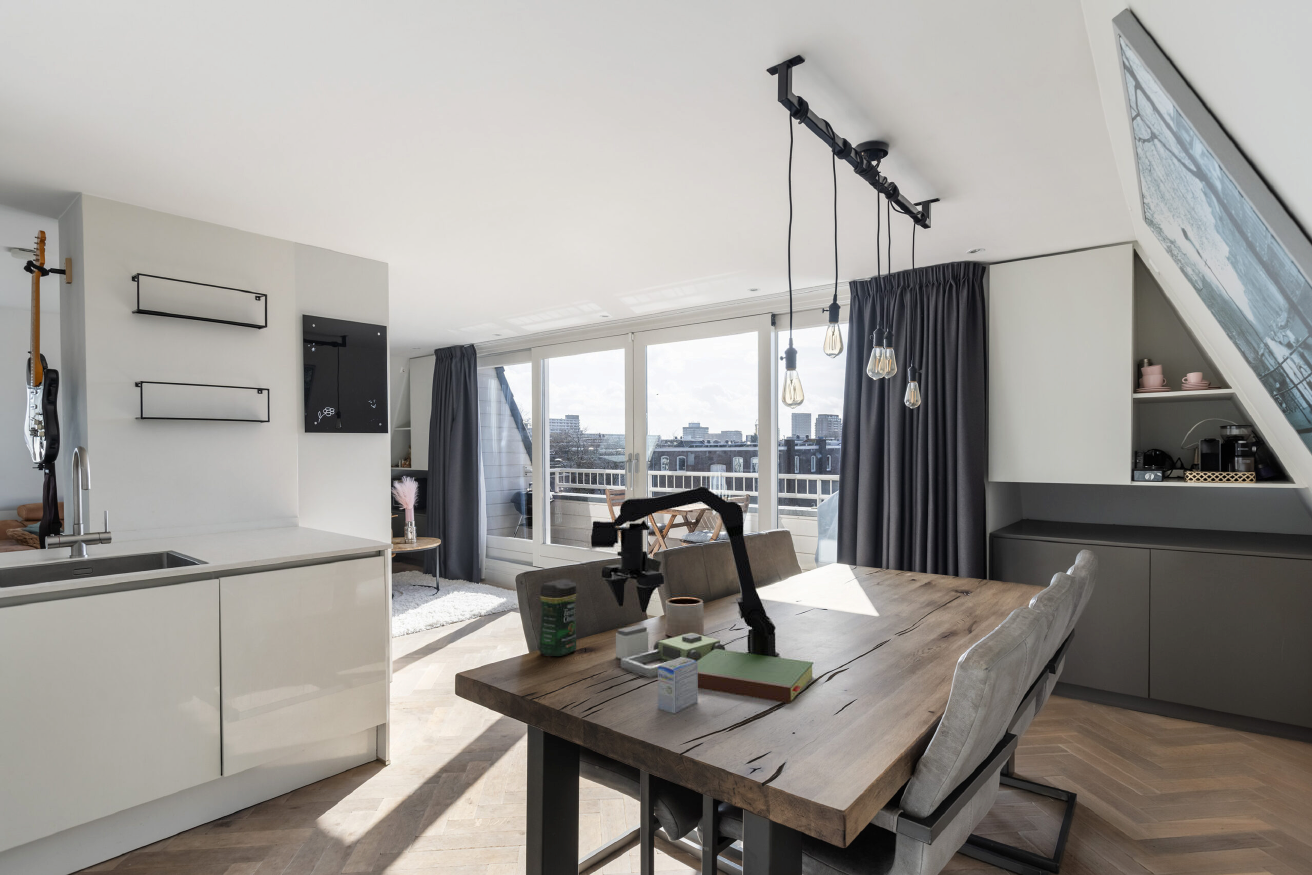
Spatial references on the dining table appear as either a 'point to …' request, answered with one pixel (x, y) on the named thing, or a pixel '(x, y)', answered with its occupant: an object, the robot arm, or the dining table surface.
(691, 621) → the planter
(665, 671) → the medicine box
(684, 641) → the green wheeled cart
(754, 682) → the hardcover book
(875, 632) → the dining table surface
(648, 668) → the gray rectangular open frame
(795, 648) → the dining table surface
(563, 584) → the coffee jar
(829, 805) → the dining table surface
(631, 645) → the chute block
